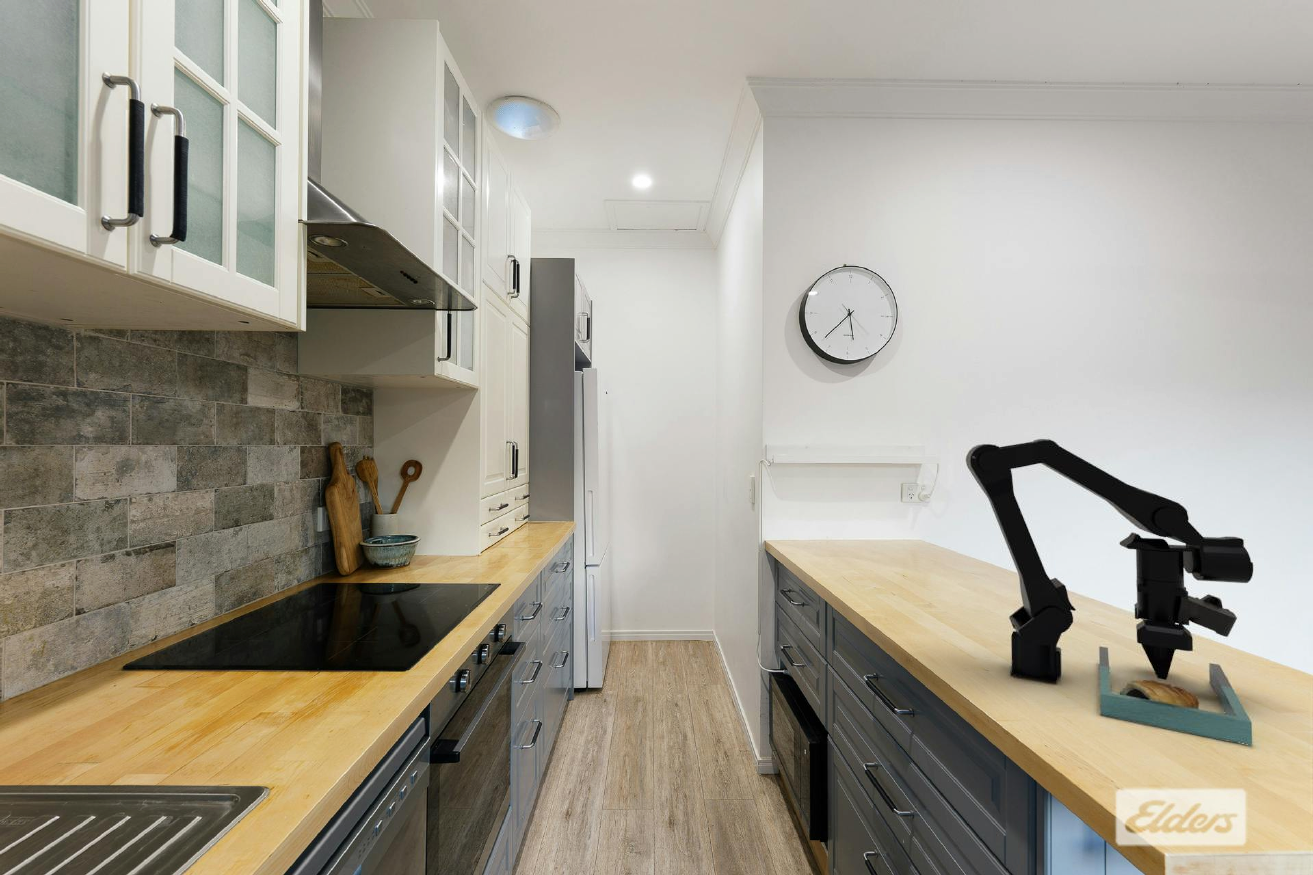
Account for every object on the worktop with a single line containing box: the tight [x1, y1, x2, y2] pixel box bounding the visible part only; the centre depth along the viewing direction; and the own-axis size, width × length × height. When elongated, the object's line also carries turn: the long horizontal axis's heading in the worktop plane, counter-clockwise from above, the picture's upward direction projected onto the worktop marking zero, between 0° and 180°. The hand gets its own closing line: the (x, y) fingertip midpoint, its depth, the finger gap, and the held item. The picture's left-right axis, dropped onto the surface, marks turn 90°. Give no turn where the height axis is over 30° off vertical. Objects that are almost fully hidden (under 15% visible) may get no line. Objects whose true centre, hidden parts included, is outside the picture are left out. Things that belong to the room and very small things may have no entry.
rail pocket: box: [1098, 645, 1253, 746], centre depth 91 cm, size 15×24×3 cm, turn 144°
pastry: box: [1119, 679, 1200, 709], centre depth 88 cm, size 9×7×4 cm
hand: (1162, 678), depth 94 cm, fingers closed
